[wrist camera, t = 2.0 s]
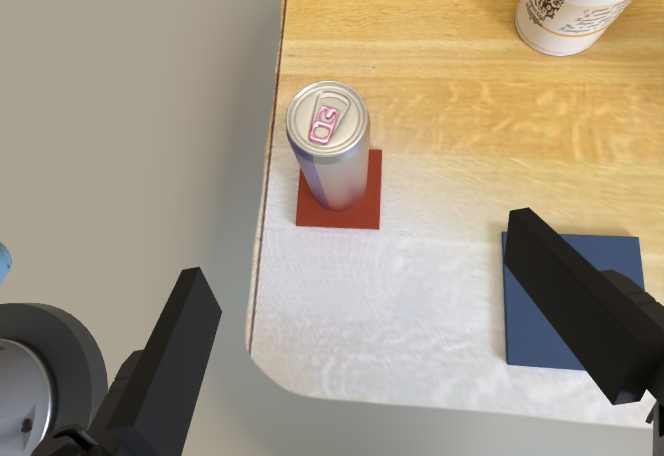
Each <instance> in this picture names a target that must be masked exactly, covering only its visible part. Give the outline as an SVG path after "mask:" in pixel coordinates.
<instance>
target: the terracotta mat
mask: <svg viewBox="0 0 664 456" xmlns="http://www.w3.org/2000/svg"><path fill="white" fill-rule="evenodd" d="M381 161H382V150H370V149H369V155H368V172H367V188H366V192H365V195H364V197H363V199H362V200H361V201H360V203H359V204H357V205H356V206H355V207H353V208H351V209H349V210H346V211H340V212H337V211H331V210H328V209H326V208H324V207H322V206H321V205H320V204H319V203H318V202H317V201H316V199H315V198H314V196H313V193H312V191H311V189H310V187H309V184H308V182H307V180H306V178H305V176H304V173H303V171H302V169H301V168H300V180H299V192H298V204H297V216H296V226H311V227H334V228H358V229H379V220H380V191H381Z"/></svg>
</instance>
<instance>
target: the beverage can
mask: <svg viewBox="0 0 664 456" xmlns="http://www.w3.org/2000/svg"><path fill="white" fill-rule="evenodd" d="M286 131H287V137H288V140H289V142H290V144H291V147H292V149H293V151H294V153H295V156H296V158H297V160H298V162H299V164H300V167H301V169H302V171H303V173H304V176H305V178H306V180H307V182H308V184H309V187H310V189H311V191H312V193H313V196H314V198H315V199H316V201H317V202H318V203H319V204H320V205H321V206H322V207H324V208H326V209H328V210H331V211H337V212H340V211H346V210H349V209H351V208H353V207H355V206H356V205H357V204H359V203H360V201H361V200H362V199H363V197H364V195H365V192H366V188H367V172H368V155H369V139H370V117H369V113H368V110H367V107H366V104H365V102H364V100H363V98H362V97H361V95H360V94H359V93H358V92H357V91H356V90H355V89H354V88H352V87H351V86H349V85H347V84H345V83H342V82H339V81H333V80H324V81H318V82H315V83H312V84H310V85H308V86H306V87H304V88H303V89H302V90H300V91H299V92H298V93H297V94H296V95H295V96H294V98H293V99H292V101H291V102H290V104H289V107H288V110H287V114H286Z"/></svg>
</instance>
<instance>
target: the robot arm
mask: <svg viewBox="0 0 664 456" xmlns="http://www.w3.org/2000/svg"><path fill="white" fill-rule="evenodd" d="M11 264H12V259H11V255H10V253H9V251H8V250H7V248H6V247H5V246H4V245H3V244H2V243H1V242H0V285H1V284H2V282H3V280H4V278H5V277H6V275H7V274H8V272H9V270H10V268H11ZM504 264H505V265H506V266H507V268H508V269H509V270H510V272H511V273H512V274H513V276H514V277H515V278H516V280H517V281H518V282H519V283H520V285H521V286H522V287H523V289H524V290H525V291H526V293H527V294H528V295H529V297H530V298H531V299H532V300H533V302H534V303H535V304H536V306H537V307H538V308H539V310H540V311H541V312H542V314H543V315H544V316H545V317H546V319H547V320H548V321H549V323H550V324H551V325H552V327H553V328H554V329H555V330H556V332H557V333H558V334H559V336H560V337H561V338H562V340H563V341H564V342H565V344H566V345H567V346H568V347H569V349H570V350H571V351H572V353H573V354H574V355H575V357H576V358H577V359H578V361H579V362H580V363H581V364H582V366H583V367H584V368H585V370H586V371H587V372H588V374H589V375H590V376H591V378H592V379H593V380H594V381H595V383H596V384H597V385H598V387H599V388H600V389H601V391H602V392H603V393H604V395H605V396H606V397H607V398H608V400H609V401H610V402H611V404H612V405H618V404H625V403H632V402H638V401H640V400H641V398H642V396H643V395H644V393H645V391H646V389H647V390H648V391H649V392H650V393H651V394H652V395H653V397H654V398H655V399H656V400H657V401H656V403H655V404H654V406H653V408H652V409H651V411H650V413H649V415H648V416H647V419H646V422H647V423H649V424H651V422H652V421H653V456H664V306H663V305H661V304H660V303H659V302H656V301H655V299H654V298H653V297H652V296H651V295H650V294H648V293H647V292H644V289H642V288H641V287H640V286H639V285H638V284H636V283H635V282H634V281H633V280H632V279H630V278H629V277H627V276H625V275H623V274H621V273H619V272H617V271H615V270H613V269H609V270H603V271H598V270H597V269H596V268H595V267H594V266H593V265H592V264H591V263H590V262H589V261H587V260H586V259H585V258H584V257H583V256H582V255H581V254H580V253H579V252H577V251H576V250H575V249H574V248H573V247H572V246H571V245H570V244H569V243H568V242H566V241H565V240H564V239H563V238H562V237H561V236H560V235H559V234H558V233H557V232H555V231H554V230H553V229H552V228H551V227H550V226H549V225H548V224H547V223H545V222H544V221H543V220H542V219H541V218H540V217H539V216H538V215H537V214H536V213H534V212H533V211H532V210H531V209H530V208H529V207H528V208H522V209H517V210H511V211H510V213H509V222H508V231H507V239H506V248H505V256H504ZM221 314H222V311H221V309H220V307H219V305H218V303H217V301H216V299H215V297H214V295H213V293H212V291H211V289H210V287H209V285H208V283H207V281H206V279H205V277H204V275H203V273H202V271H201V269H200V267H196V268H190V269H185V270H182V272H181V274H180V276H179V278H178V280H177V282H176V284H175V286H174V288H173V290H172V293H171V295H170V297H169V299H168V301H167V303H166V305H165V307H164V309H163V311H162V313H161V315H160V318H159V319H158V321H157V324H156V326H155V328H154V330H153V332H152V334H151V336H150V338H149V340H148V342H147V344H146V346H145V349H144V350H138V351H134V352H133V353H132V354H131V355H130V356H129V357H128V359H127V360H126V361H125V362H124V363H123V364H122V365H121V367H120V369H119V371H118V373H117V375H116V377H115V381H114V382H113V383H112V385H111V387H110V388H109V393H108V394H106V396H105V398H104V400H103V402H102V404H101V406H100V407H99V409H98V411H97V413H96V415H95V417H94V419H93V421H92V423H91V425H90V427H89V429H88V430H87V431H86V430H85V429H83V428H82V427H81V426H80V425H79V424H73V423H72V424H68V425H64V426H62V427H60V428H58V429H56V430H54V431H53V432H52V430H53V428H54V425H55V421H56V417H57V411H58V387H57V382H56V378H55V375H54V372H53V369H52V367H51V365H50V363H49V362H48V360H47V359H46V358H45V356H44V355H43V354H42V353H41V352H40V351H39V350H38V349H37V348H35V347H34V346H33V345H31V344H29V343H27V342H25V341H22V340H19V339H14V338H0V456H181V454H182V451H183V447H184V444H185V440H186V437H187V433H188V430H189V426H190V423H191V419H192V416H193V412H194V409H195V405H196V401H197V398H198V395H199V391H200V387H201V384H202V381H203V377H204V374H205V370H206V366H207V363H208V360H209V356H210V352H211V349H212V345H213V342H214V338H215V335H216V331H217V328H218V324H219V321H220V317H221ZM653 419H654V420H653Z"/></svg>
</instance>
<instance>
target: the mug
mask: <svg viewBox="0 0 664 456" xmlns="http://www.w3.org/2000/svg"><path fill="white" fill-rule="evenodd" d="M632 1H633V0H520V1H519V3H518V5H517V8H516V11H515V25H516V28H517V31H518V33H519V35H520V36H521V38H522V39H523V40H524V41H525V42H526V43H527V44H528V45H529V46H530V47H532V48H534V49H535V50H537V51H540V52H542V53H545V54H549V55H555V56H567V55H572V54H576V53H579V52H581V51H584V50H585V49H587V48H589V47H590V46H591V45H593V44H594V43H595V42H596V41H597V40H598V38H599V37H600V36H601V35H602V34H603V33H604V32H605V31H606V30H607V29H608V28H609V26H610V25H611V24H612V23H613V22H614V21H615V20H616V19H617V18H618V17H619V15H620V14H621V13H622V12H623V11H624V10H625V9H626V8H627V7H628V6H629V4H630V3H631V2H632Z"/></svg>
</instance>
